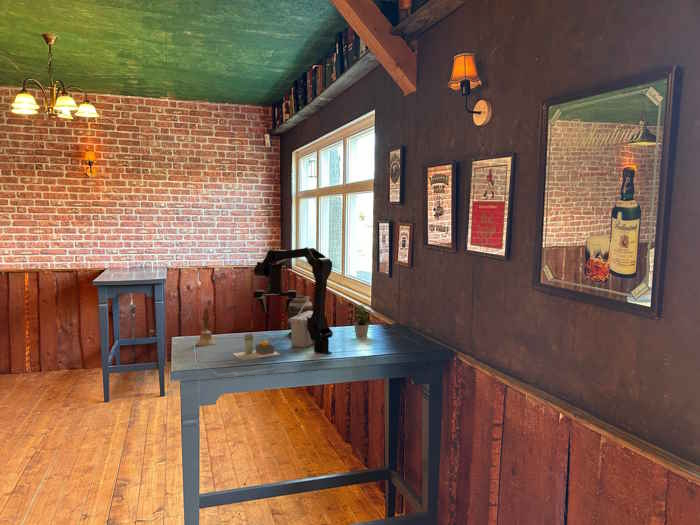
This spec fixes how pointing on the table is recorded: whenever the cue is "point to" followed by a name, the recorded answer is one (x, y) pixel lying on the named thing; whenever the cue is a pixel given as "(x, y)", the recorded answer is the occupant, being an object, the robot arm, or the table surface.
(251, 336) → the sage marker
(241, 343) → the table surface
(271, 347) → the button housing
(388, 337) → the table surface
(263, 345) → the button
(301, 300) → the apothecary jar
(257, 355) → the board
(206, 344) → the hand bell
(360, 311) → the house plant
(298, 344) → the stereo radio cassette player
